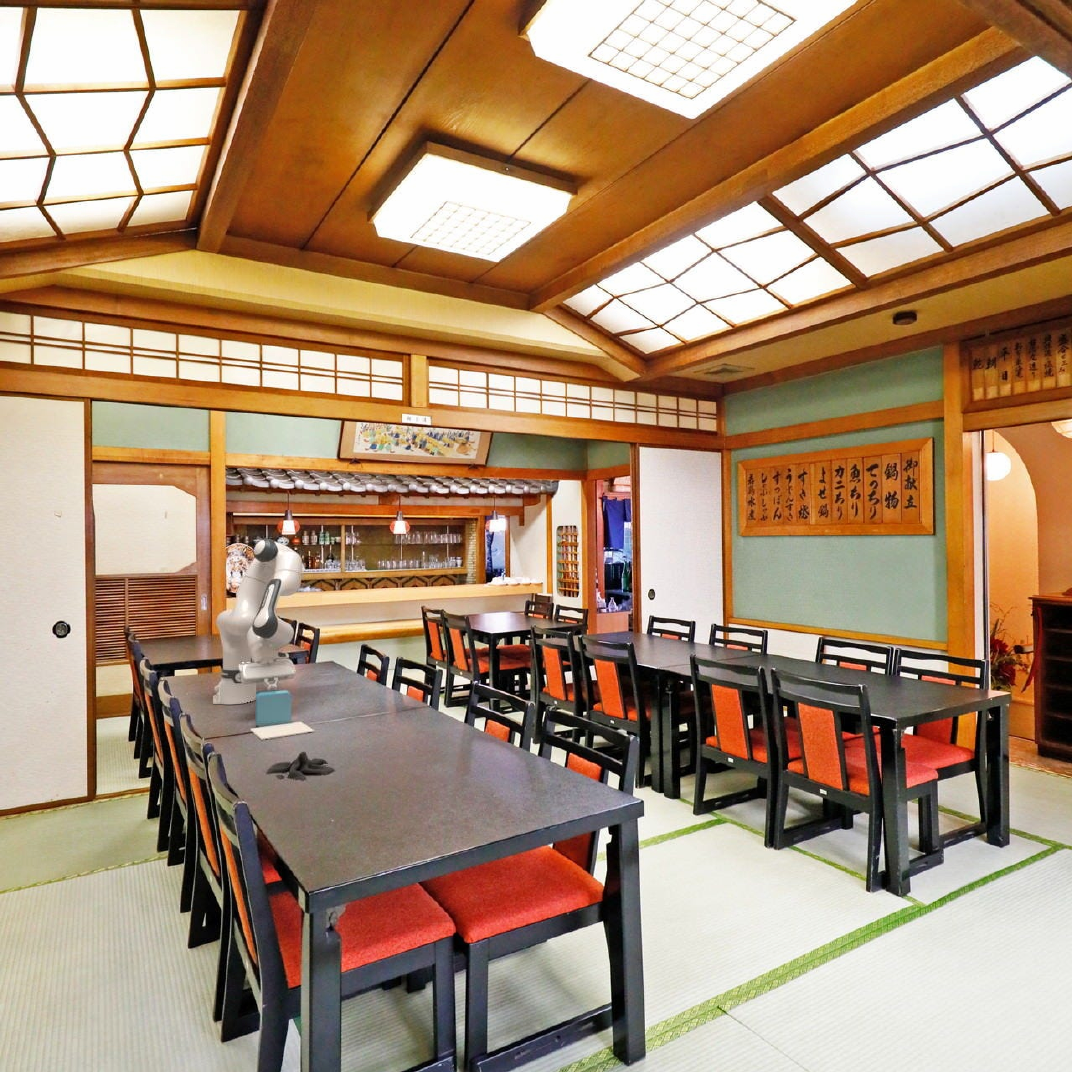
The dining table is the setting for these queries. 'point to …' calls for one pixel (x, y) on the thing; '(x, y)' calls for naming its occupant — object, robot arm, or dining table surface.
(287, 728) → the pale mat
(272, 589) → the robot arm
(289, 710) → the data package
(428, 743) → the dining table surface
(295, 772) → the cloth
